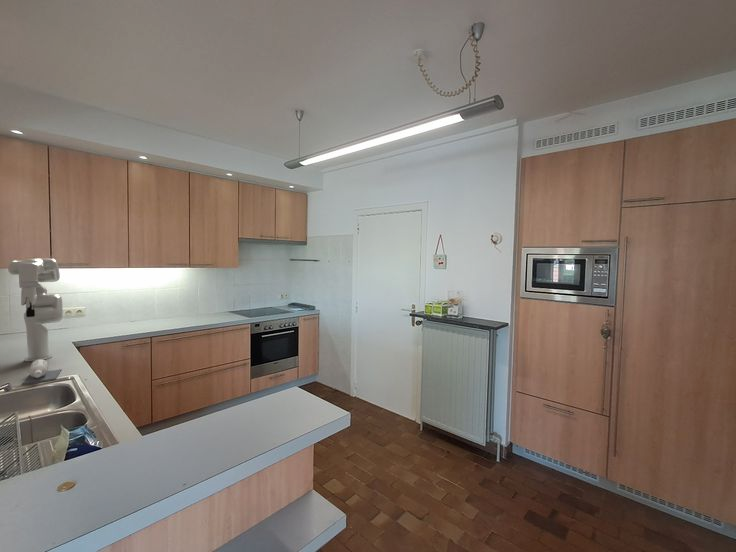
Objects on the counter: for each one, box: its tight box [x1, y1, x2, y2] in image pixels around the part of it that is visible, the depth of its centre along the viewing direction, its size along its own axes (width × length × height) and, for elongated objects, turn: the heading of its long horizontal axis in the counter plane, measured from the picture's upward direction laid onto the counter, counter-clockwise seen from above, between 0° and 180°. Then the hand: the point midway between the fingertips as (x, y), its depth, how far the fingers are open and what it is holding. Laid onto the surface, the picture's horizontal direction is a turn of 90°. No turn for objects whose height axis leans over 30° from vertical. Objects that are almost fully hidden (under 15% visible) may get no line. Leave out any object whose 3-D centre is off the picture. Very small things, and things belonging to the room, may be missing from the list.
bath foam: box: [28, 359, 49, 378], centre depth 178 cm, size 7×7×20 cm
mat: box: [21, 368, 62, 386], centre depth 179 cm, size 17×13×1 cm
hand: (30, 316), depth 189 cm, fingers closed
